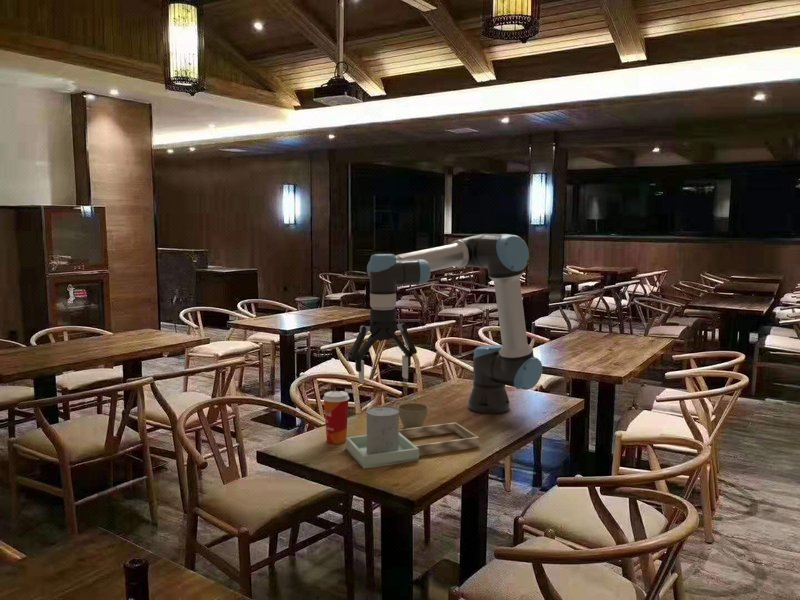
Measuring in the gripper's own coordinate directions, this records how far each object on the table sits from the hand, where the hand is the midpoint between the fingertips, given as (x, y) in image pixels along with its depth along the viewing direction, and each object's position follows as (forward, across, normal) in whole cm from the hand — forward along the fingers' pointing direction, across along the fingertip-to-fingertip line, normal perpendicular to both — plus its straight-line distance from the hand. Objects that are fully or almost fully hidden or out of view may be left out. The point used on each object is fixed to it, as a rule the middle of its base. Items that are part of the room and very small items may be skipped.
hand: (383, 380), depth 184 cm
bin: (+22, +1, +2) cm, 22 cm away
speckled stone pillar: (+21, +1, +2) cm, 21 cm away
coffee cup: (+22, +10, -14) cm, 28 cm away
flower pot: (+22, -17, -17) cm, 33 cm away
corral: (+22, -18, -1) cm, 28 cm away
